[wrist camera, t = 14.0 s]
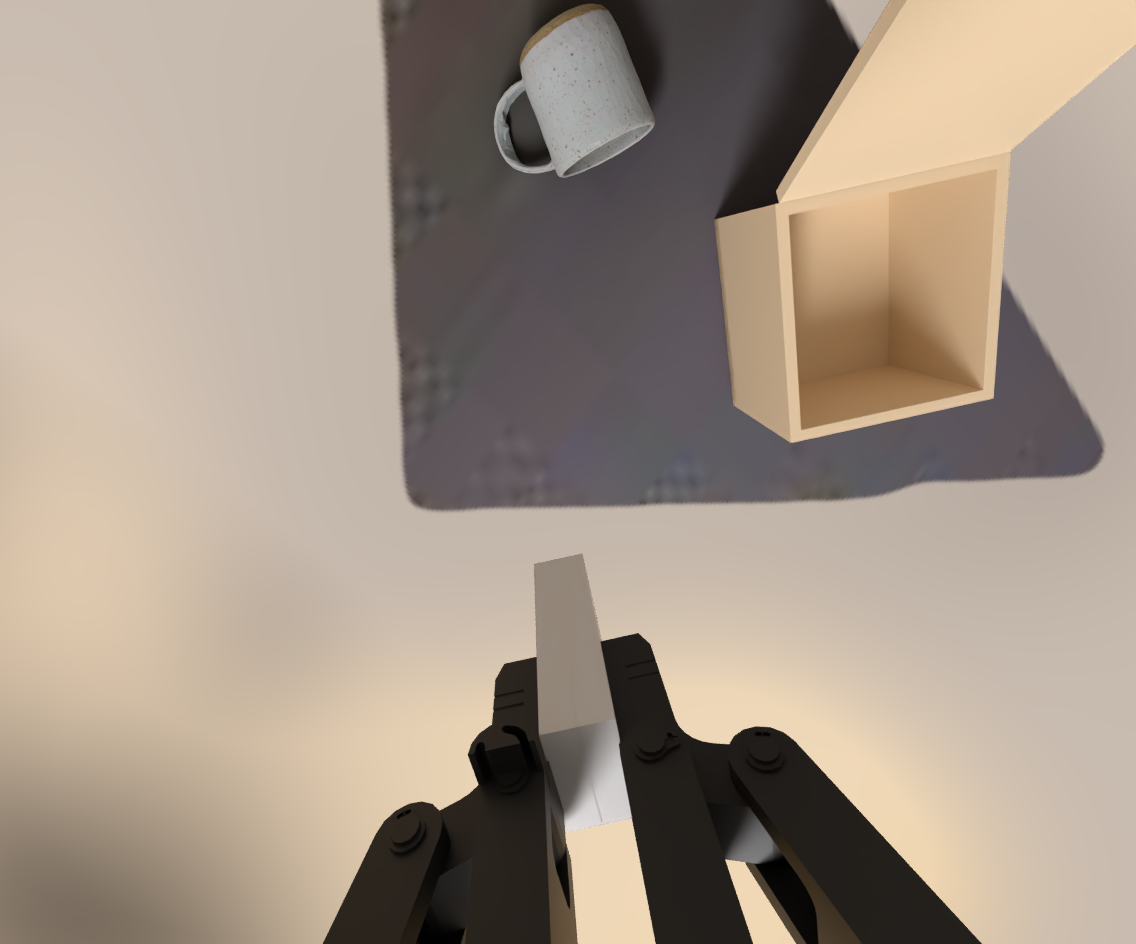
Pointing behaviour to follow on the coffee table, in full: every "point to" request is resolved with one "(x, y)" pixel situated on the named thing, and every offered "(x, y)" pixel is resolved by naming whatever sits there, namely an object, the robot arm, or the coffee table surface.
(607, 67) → the ceramic mug
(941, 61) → the carton lid
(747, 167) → the coffee table surface
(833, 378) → the carton
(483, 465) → the coffee table surface
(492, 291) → the coffee table surface
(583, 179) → the coffee table surface
